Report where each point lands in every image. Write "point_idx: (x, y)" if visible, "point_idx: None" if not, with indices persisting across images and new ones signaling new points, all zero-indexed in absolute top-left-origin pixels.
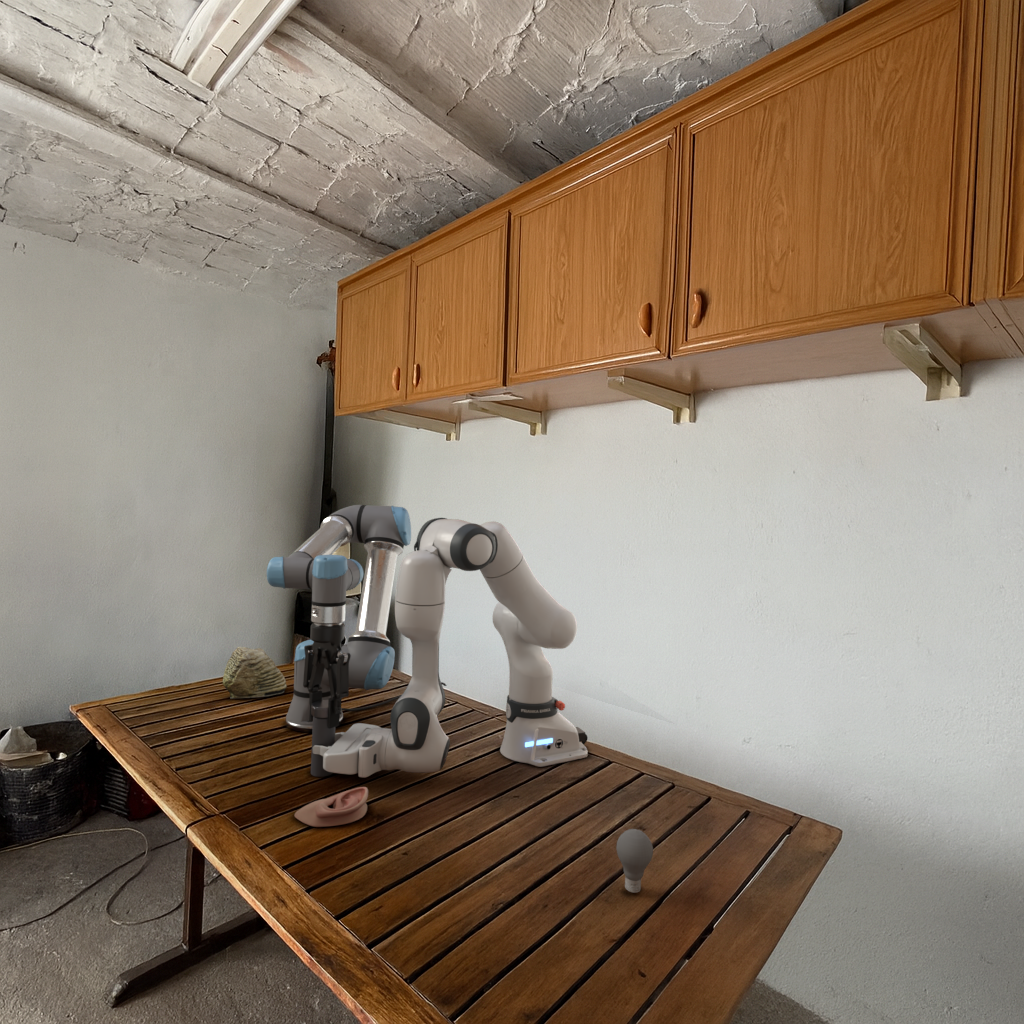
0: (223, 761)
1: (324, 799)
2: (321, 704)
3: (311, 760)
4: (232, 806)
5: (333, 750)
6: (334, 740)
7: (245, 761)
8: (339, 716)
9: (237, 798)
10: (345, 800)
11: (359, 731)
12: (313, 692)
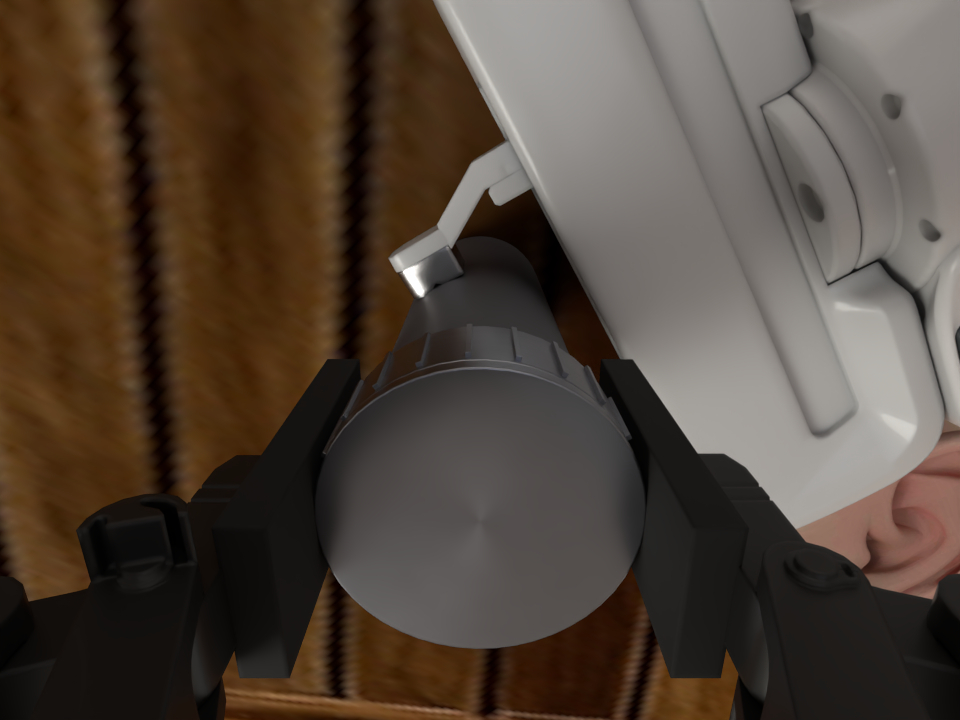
0: (36, 518)
1: None
2: (470, 560)
3: None
4: (471, 676)
5: None
6: (547, 308)
7: (97, 459)
8: (656, 395)
9: (427, 642)
10: (904, 507)
11: (634, 95)
12: (245, 642)
